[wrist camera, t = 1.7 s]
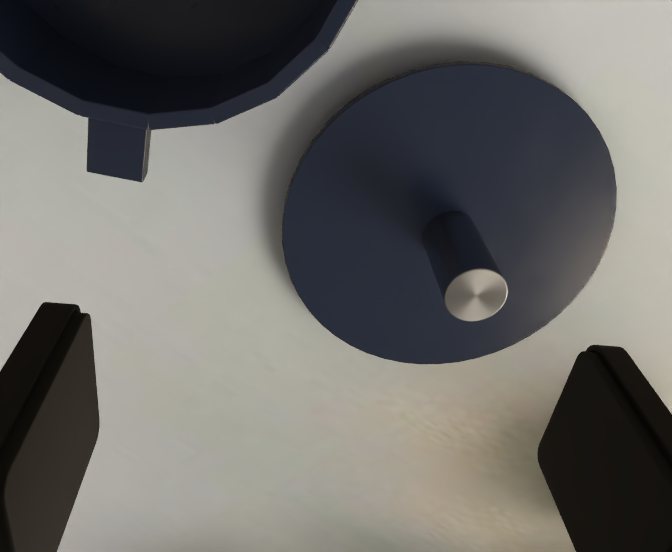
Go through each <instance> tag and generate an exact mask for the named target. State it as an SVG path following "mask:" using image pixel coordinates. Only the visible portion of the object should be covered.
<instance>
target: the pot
mask: <svg viewBox="0 0 672 552" xmlns="http://www.w3.org/2000/svg"><path fill="white" fill-rule="evenodd" d="M357 1H358V0H0V73H1V74H3V75H4V76H5V77H6V78H7V79H10V81H12V82H14V83H16V84H18V85H20V86H22V87H24V88H25V89H27V90H29V91H31V92H33V93H35V94H37V95H39V96H41V97H43V98H45V99H47V100H49V101H51V102H53V103H55V104H57V105H59V106H61V107H63V108H65V109H67V110H69V111H71V112H73V113H75V114H76V115H80V116H83V117H88V147H87V172H91V173H97V174H102V175H107V176H112V177H118V178H123V179H128V180H133V181H138V182H143V181H144V179H145V177H146V175H147V171H148V160H149V148H150V137H151V130H155V129H166V128H177V127H187V126H198V125H208V124H215V123H216V124H218V123H220V122H222V121H224V120H227V119H229V118H231V117H234V116H236V115H238V114H240V113H243V112H245V111H247V110H250V109H252V108H254V107H256V106H259V105H261V104H263V103H266V102H268V101H270V100H272V99H275V98H277V96H279V95H280V94H281V93H283V92H284V91H285V90H286V89H287V88H288V87H289V86H290V85H291V84H292V83H294V82H295V81H296V80H297V79H298V78H299V77H300V76H301V75H302V74H304V73H305V72H306V71H307V70H308V69H309V68H310V67H311V66H312V65H313V64H315V63H316V62H317V61H318V60H319V59H320V58H321V57H322V56H323V55H324V54H326V53H327V52H328V49H330V48H331V46H332V45H333V43H334V41H335V39H336V38H337V36H338V34H339V33H340V31H341V29H342V27H343V26H344V24H345V22H346V20H347V19H348V17H349V15H350V14H351V12H352V10H353V8H354V7H355V5H356V3H357Z"/></svg>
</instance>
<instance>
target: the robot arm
mask: <svg viewBox="0 0 672 552" xmlns="http://www.w3.org/2000/svg"><path fill="white" fill-rule="evenodd" d="M98 433H99V409H98V398H97V386H96V374H95V362H94V350H93V339H92V327H91V318H90V315H89V314H88V313H81V312H80V308H79V306H78V305H76V304H63V303H50V302H45V303H43V304H42V305H41V306H40V308H39V309H38V311H37V313H36V314H35V316H34V317H33V319H32V321H31V322H30V324H29V326H28V327H27V329H26V330H25V332H24V334H23V335H22V337H21V339H20V340H19V342H18V344H17V345H16V347H15V348H14V350H13V352H12V353H11V355H10V357H9V358H8V360H7V361H6V363H5V365H4V366H3V368H2V370H1V371H0V552H57V549H58V547H59V544H60V541H61V538H62V536H63V533H64V530H65V527H66V525H67V522H68V519H69V516H70V513H71V511H72V508H73V505H74V502H75V500H76V497H77V494H78V491H79V488H80V486H81V483H82V480H83V477H84V475H85V472H86V469H87V466H88V464H89V461H90V458H91V455H92V452H93V450H94V447H95V444H96V441H97V438H98ZM538 462H539V466H540V468H541V470H542V473H543V475H544V477H545V480H546V482H547V484H548V487H549V489H550V492H551V494H552V496H553V499H554V501H555V503H556V506H557V508H558V510H559V513H560V515H561V517H562V520H563V522H564V524H565V527H566V529H567V532H568V534H569V536H570V539H571V541H572V543H573V546H574V548H575V550H576V552H672V414H671V413H670V411H669V410H668V409H667V407H666V406H665V404H664V403H663V402H662V400H661V399H660V397H659V396H658V395H657V393H656V392H655V390H654V389H653V388H652V386H651V385H650V384H649V382H648V381H647V379H646V378H645V377H644V375H643V374H642V372H641V371H640V370H639V368H638V367H637V365H636V364H635V363H634V361H633V360H632V358H631V357H630V356H629V354H628V353H627V352H626V351H625V350H624V349H623V348H621V347H615V346H602V345H591V346H590V347H589V348H587V350H586V352H585V351H583V352H581V353H580V354H579V355H578V356H577V358H576V361H575V363H574V365H573V368H572V370H571V372H570V375H569V377H568V379H567V382H566V384H565V386H564V388H563V391H562V393H561V395H560V398H559V400H558V402H557V405H556V407H555V409H554V412H553V414H552V416H551V418H550V421H549V423H548V425H547V428H546V430H545V432H544V435H543V437H542V439H541V442H540V444H539V447H538Z"/></svg>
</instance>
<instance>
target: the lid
mask: <svg viewBox="0 0 672 552" xmlns="http://www.w3.org/2000/svg"><path fill="white" fill-rule="evenodd" d="M615 211H616V181H615V173H614V167H613V164H612V160H611V157H610V154H609V150H608V148H607V146H606V144H605V142H604V140H603V137H602V135H601V133H600V131H599V130H598V128H597V127H596V125H595V124H594V123H593V121H592V120H591V118H590V117H589V116H588V114H587V113H586V112H585V111H584V110H583V109H582V108H581V107H580V106H579V105H578V104H577V103H576V102H575V101H574V100H573V99H572V98H570V97H569V96H568V95H566V94H565V93H564V92H562V91H561V90H559V89H558V88H557V87H555V86H554V85H553V84H551V83H549V82H547V81H545V80H543V79H541V78H539V77H537V76H535V75H533V74H531V73H528V72H525V71H522V70H519V69H516V68H513V67H510V66H505V65H499V64H493V63H488V62H463V61H460V62H451V63H442V64H434V65H430V66H426V67H422V68H418V69H414V70H410V71H408V72H405V73H402V74H400V75H397V76H395V77H392V78H389V79H387V80H385V81H383V82H381V83H380V84H378V85H376V86H374V87H372V88H370V89H368V90H367V91H365V92H364V93H362V94H361V95H359V96H358V97H357V98H355V99H354V100H352V101H351V102H350V103H348V104H347V105H345V106H344V107H343V108H342V109H341V110H340V111H339V112H338V113H337V114H336V115H335V116H333V117H332V118H331V119H330V120H329V121H328V122H327V123H326V124H325V126H324V127H323V128H322V129H321V130H320V132H319V133H318V134H317V135H316V136H315V138H314V139H313V140H312V142H311V143H310V145H309V146H308V148H307V150H306V151H305V153H304V154H303V156H302V158H301V159H300V161H299V163H298V166H297V168H296V170H295V172H294V174H293V177H292V179H291V182H290V185H289V189H288V192H287V196H286V199H285V205H284V213H283V220H282V244H283V250H284V256H285V262H286V266H287V269H288V272H289V275H290V278H291V281H292V283H293V285H294V287H295V289H296V291H297V293H298V295H299V297H300V298H301V300H302V301H303V303H304V304H305V306H306V307H307V309H308V310H309V311H310V312H311V314H312V315H313V316H314V317H315V318H316V319H317V320H318V321H319V322H320V323H321V324H322V325H323V326H324V327H325V328H326V329H328V330H329V331H330V332H331V333H332V334H334V335H335V336H336V337H338V338H340V339H341V340H343V341H344V342H346V343H347V344H349V345H351V346H353V347H355V348H357V349H359V350H361V351H364V352H366V353H368V354H371V355H375V356H378V357H381V358H384V359H388V360H393V361H398V362H404V363H414V364H444V363H453V362H460V361H465V360H470V359H475V358H479V357H482V356H485V355H488V354H491V353H495V352H497V351H500V350H502V349H504V348H507V347H509V346H511V345H514V344H515V343H517V342H519V341H521V340H523V339H525V338H527V337H528V336H530V335H532V334H533V333H535V332H536V331H538V330H539V329H541V328H542V327H544V326H545V325H547V324H548V323H549V322H550V321H551V320H553V319H554V318H555V317H556V316H557V315H559V314H560V313H561V312H562V311H563V310H564V309H565V308H566V307H567V306H568V305H569V304H570V303H571V302H572V301H573V300H574V299H575V298H576V297H577V295H578V294H579V293H580V292H581V290H582V289H583V288H584V286H585V285H586V284H587V283H588V281H589V280H590V278H591V276H592V275H593V273H594V271H595V270H596V268H597V266H598V265H599V263H600V261H601V258H602V256H603V254H604V252H605V250H606V247H607V245H608V241H609V238H610V235H611V232H612V228H613V223H614V217H615Z"/></svg>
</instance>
